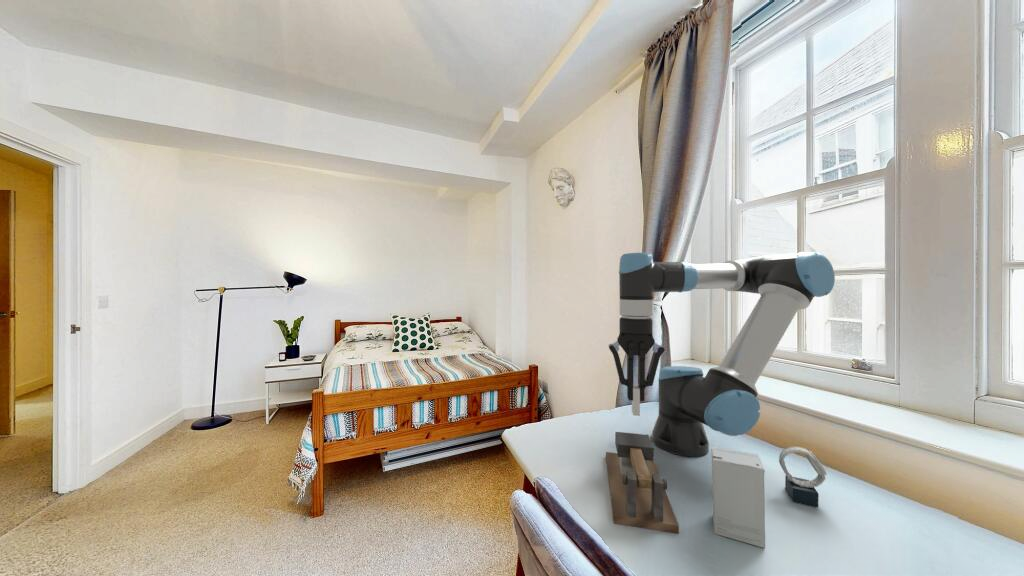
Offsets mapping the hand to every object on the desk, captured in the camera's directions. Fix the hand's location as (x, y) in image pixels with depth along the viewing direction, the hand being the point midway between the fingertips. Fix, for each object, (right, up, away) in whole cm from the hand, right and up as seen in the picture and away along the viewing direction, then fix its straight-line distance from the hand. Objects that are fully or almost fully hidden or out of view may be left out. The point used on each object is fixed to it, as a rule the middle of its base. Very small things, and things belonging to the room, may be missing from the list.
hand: (635, 413), depth 81 cm
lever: (-2, -10, -5) cm, 11 cm away
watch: (+35, -17, -6) cm, 39 cm away
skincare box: (+13, -17, -17) cm, 27 cm away
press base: (-1, -16, -3) cm, 17 cm away
